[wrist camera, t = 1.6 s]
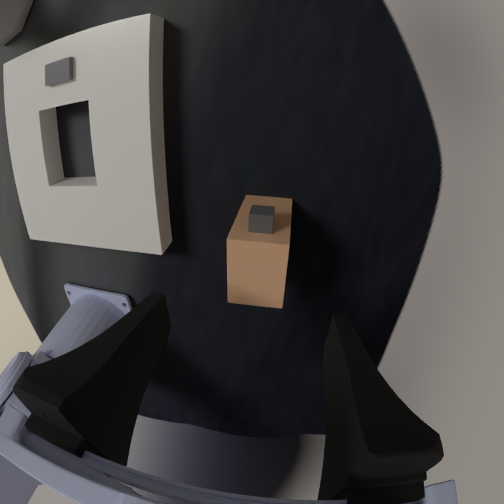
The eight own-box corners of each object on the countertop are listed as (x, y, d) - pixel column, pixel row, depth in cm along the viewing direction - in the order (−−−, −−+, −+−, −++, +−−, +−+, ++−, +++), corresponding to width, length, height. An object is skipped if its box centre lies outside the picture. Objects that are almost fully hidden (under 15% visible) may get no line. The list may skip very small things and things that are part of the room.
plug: (286, 251, 22) (281, 308, 16) (244, 247, 22) (227, 302, 17) (293, 184, 19) (291, 226, 14) (246, 180, 19) (226, 220, 14)
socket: (172, 240, 22) (160, 257, 20) (43, 228, 24) (27, 241, 22) (164, 18, 14) (147, 12, 12) (20, 61, 15) (0, 64, 13)
